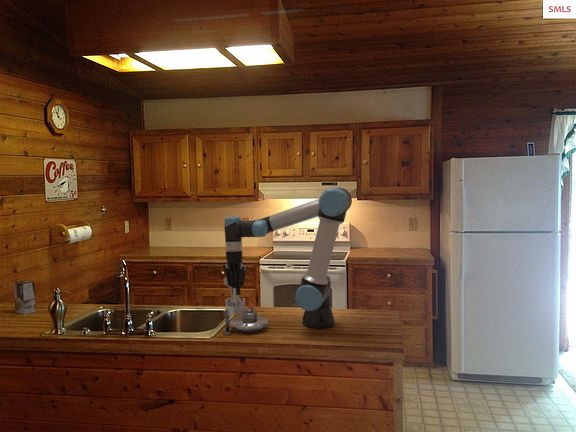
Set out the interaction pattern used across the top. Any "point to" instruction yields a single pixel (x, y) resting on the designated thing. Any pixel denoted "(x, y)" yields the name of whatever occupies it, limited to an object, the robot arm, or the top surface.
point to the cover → (249, 316)
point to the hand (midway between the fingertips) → (236, 301)
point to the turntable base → (249, 331)
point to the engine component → (237, 306)
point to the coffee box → (24, 297)
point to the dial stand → (228, 312)
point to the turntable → (239, 325)
